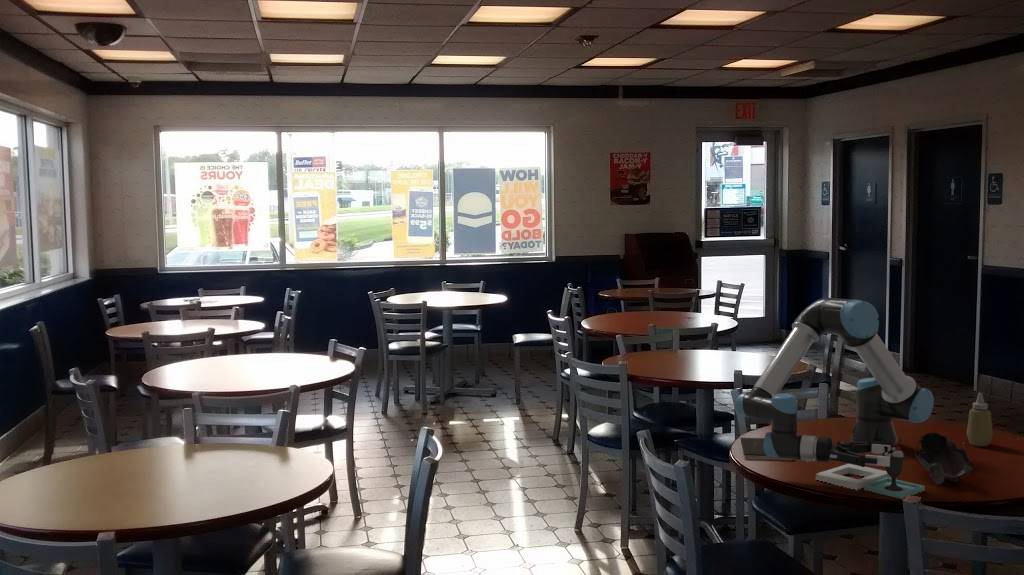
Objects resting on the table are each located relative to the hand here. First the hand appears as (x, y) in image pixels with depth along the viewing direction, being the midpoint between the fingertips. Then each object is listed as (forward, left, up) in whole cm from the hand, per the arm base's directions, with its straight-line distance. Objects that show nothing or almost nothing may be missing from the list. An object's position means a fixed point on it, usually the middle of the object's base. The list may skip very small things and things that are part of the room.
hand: (892, 456), depth 275 cm
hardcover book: (-10, -52, -11) cm, 54 cm away
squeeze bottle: (-69, -9, -10) cm, 71 cm away
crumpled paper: (-21, +3, -10) cm, 24 cm away
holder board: (-1, -14, -10) cm, 17 cm away
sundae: (0, +1, -10) cm, 10 cm away
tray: (0, 0, -10) cm, 10 cm away
